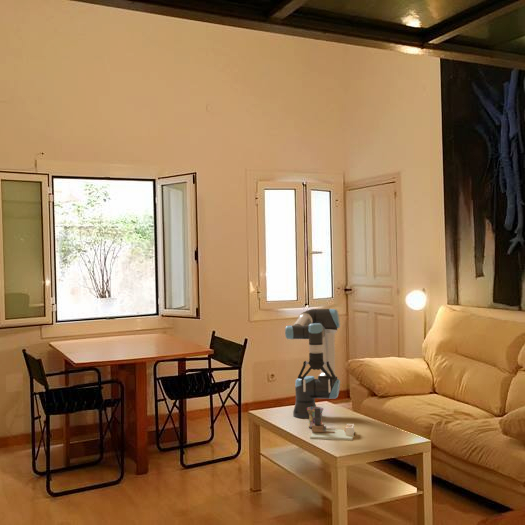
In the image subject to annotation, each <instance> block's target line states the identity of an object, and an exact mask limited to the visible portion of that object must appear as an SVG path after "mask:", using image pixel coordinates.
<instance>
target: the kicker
mask: <svg viewBox="0 0 525 525" xmlns="http://www.w3.org/2000/svg"><path fill="white" fill-rule="evenodd" d="M321 420H322V416H321V409H320V408H315V424H313V425H312V428H311V432H326V429H327V426H326V425H325V424H324V423H322V424H321Z"/></svg>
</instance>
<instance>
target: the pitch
mask: <svg viewBox="0 0 525 525" xmlns="http://www.w3.org/2000/svg"><path fill="white" fill-rule="evenodd" d="M355 431H356V430H355V429H354V434H353V436H349V435H345V431H344V429H336V428H333V429H332V428H326V432H312V431H311V432H312V433H311V434H310V437H309V439H313V440H333V441H337V440H338V441H353V440H354V436H355V433H356V432H355Z"/></svg>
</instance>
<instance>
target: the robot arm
mask: <svg viewBox="0 0 525 525" xmlns="http://www.w3.org/2000/svg"><path fill="white" fill-rule="evenodd" d="M339 328H341V323H340V316H339V311H338V310H337V309H335V308H312V309H307V310H305V311H303V312H301V313H300V314H299V315H298V317H297V319H296V321H295V322H294V324H292V325H286V326H285V330H284V335H285V338H286V339H287V340H308V352H309V354H308V356H309V358H308V359H309V360H304V361H303V365H302V367H301V369H300V372H299V374H298V375H297V378H296V379H295V382H294V383H295V386H294V388H295V403H294V404H295V405H294V408H293V411H292V414H293V417H295V418H297V419H298V418H299V419H309V413H308V410H307V408H308V407H317V405H316V399H319V400H321V399H324V400H330V399H331V400H333V399H334V400H335V399H337V398H338V397H339V393H340V387H341V379H339V378H338V375H337V374H336V365H335V364H336V346H335V345H336V344H335V342H336V339H335V338H336V333H337V332H338V329H339ZM308 365H309V368H308V369H307V370H306V371H305V372H304V370H305V369H306V367H307V366H308ZM311 370H314V371H315V370H318V371H320V373H319V374H318V375H317V378H316V377H315V376H314V375H308V374H309V373H310V372H311ZM303 373H304V374H303Z"/></svg>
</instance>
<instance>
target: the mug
mask: <svg viewBox="0 0 525 525" xmlns="http://www.w3.org/2000/svg"><path fill="white" fill-rule="evenodd" d="M315 408H320V409H321V417H322V415H323V411H324V407H323V406H316V407H308V408H307V410H308V413H309V418H308V419H309V420H308V424H307V427H309V428H310V429H312V425H313V424H315ZM321 424H323V422H322V419H321Z"/></svg>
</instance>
